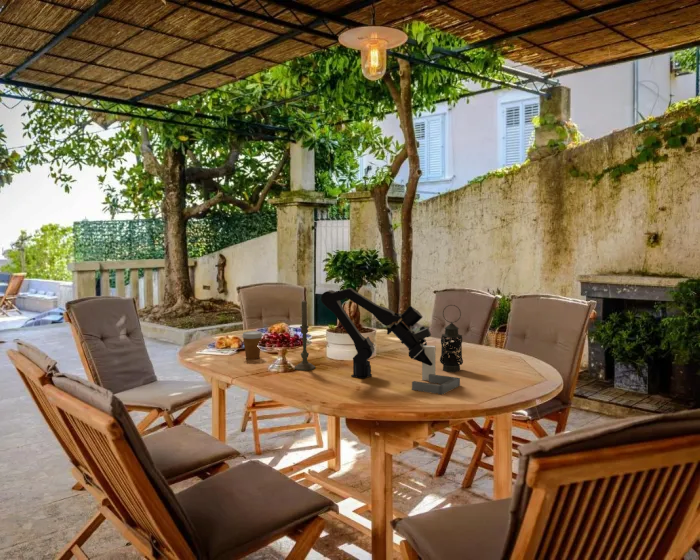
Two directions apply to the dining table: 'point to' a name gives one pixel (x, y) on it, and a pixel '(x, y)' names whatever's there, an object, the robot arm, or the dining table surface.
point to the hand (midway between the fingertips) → (432, 362)
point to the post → (430, 353)
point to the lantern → (451, 347)
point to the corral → (446, 382)
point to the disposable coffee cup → (252, 344)
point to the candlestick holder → (304, 341)
